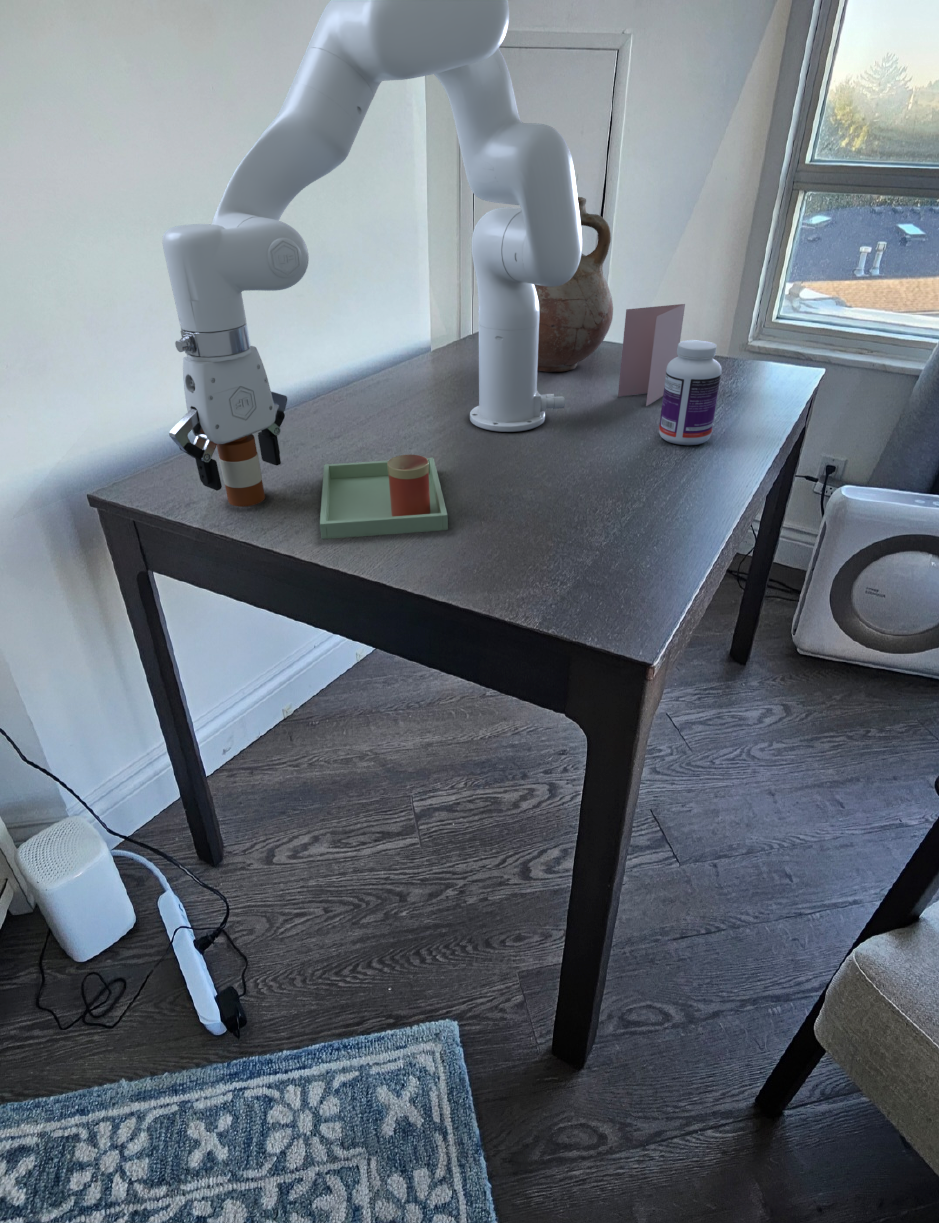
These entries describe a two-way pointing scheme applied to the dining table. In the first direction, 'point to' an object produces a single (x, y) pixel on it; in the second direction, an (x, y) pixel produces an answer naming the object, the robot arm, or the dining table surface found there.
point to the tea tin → (409, 485)
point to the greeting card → (649, 349)
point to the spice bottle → (241, 471)
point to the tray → (372, 502)
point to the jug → (576, 306)
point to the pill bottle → (690, 394)
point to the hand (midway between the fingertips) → (243, 474)
